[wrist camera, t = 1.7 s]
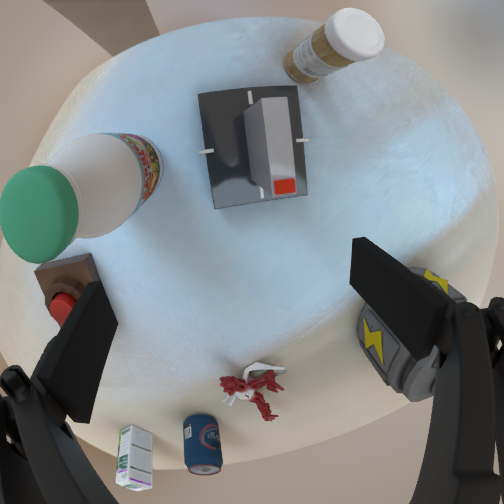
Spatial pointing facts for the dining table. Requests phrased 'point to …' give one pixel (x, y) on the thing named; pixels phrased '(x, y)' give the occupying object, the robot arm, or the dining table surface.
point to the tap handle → (271, 146)
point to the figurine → (253, 387)
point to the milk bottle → (78, 193)
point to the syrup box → (134, 459)
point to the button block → (66, 277)
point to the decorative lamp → (401, 349)
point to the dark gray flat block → (243, 143)
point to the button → (62, 307)
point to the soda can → (202, 445)
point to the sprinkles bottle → (335, 45)
